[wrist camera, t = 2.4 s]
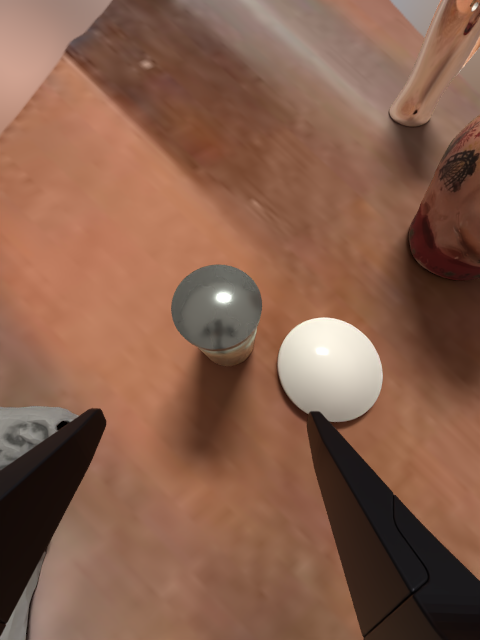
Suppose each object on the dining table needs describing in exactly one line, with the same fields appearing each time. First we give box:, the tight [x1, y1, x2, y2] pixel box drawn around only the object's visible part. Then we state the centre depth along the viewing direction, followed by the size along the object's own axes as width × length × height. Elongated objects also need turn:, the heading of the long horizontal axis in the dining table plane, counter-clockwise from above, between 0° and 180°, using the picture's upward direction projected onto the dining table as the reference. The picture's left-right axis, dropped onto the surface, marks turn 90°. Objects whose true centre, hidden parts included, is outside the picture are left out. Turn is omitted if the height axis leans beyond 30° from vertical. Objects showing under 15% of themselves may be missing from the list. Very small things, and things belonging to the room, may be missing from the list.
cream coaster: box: [277, 318, 383, 422], centre depth 22 cm, size 10×10×1 cm
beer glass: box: [389, 0, 480, 127], centre depth 27 cm, size 7×7×15 cm
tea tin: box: [171, 265, 262, 366], centre depth 18 cm, size 6×6×10 cm
